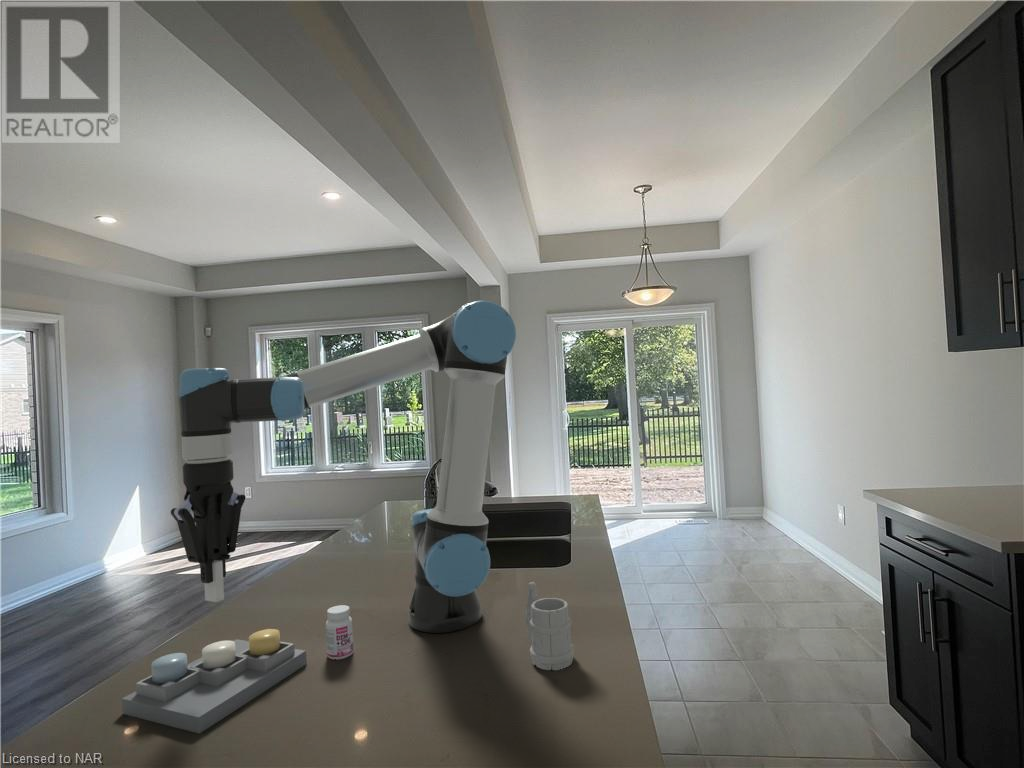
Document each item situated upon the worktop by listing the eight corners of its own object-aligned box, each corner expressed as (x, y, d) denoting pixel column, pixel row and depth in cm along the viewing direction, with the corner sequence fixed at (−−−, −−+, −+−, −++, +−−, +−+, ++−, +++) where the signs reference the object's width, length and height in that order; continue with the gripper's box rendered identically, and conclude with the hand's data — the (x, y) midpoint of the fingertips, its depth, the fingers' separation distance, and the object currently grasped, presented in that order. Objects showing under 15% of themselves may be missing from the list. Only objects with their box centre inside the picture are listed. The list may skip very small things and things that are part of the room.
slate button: (194, 669, 97) (194, 655, 97) (166, 684, 92) (165, 669, 92) (173, 665, 99) (172, 651, 99) (144, 680, 94) (144, 665, 94)
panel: (306, 663, 106) (305, 640, 106) (199, 733, 86) (197, 704, 86) (237, 651, 113) (236, 629, 113) (122, 713, 93) (121, 687, 93)
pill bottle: (339, 662, 106) (336, 615, 106) (321, 657, 109) (319, 611, 109) (359, 651, 110) (356, 606, 110) (341, 646, 113) (339, 602, 113)
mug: (545, 676, 97) (541, 603, 97) (511, 649, 108) (508, 583, 108) (583, 663, 101) (579, 593, 101) (547, 638, 111) (543, 575, 111)
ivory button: (242, 656, 101) (241, 642, 101) (217, 670, 96) (216, 655, 96) (221, 652, 103) (220, 638, 103) (195, 666, 98) (195, 651, 98)
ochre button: (286, 644, 105) (285, 630, 105) (264, 656, 100) (263, 642, 100) (265, 640, 107) (264, 627, 107) (242, 653, 102) (242, 639, 102)
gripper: (224, 454, 107) (230, 584, 107) (156, 465, 95) (163, 611, 95) (255, 454, 104) (261, 588, 104) (189, 465, 92) (196, 617, 92)
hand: (214, 599), depth 99 cm, fingers closed
